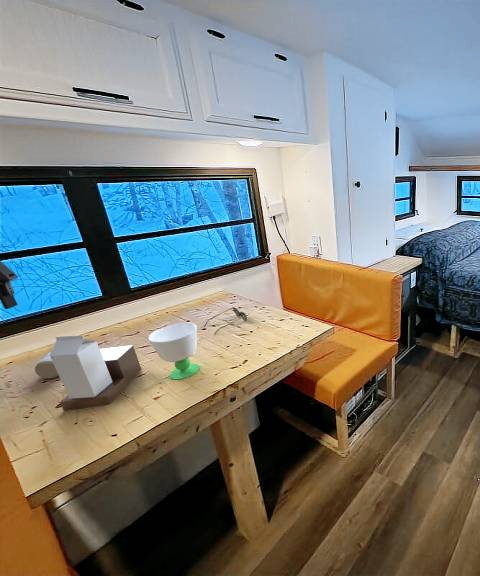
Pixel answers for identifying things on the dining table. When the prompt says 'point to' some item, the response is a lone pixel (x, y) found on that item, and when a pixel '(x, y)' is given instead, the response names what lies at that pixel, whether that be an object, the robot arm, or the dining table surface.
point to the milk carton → (80, 366)
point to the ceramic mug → (46, 368)
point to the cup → (177, 347)
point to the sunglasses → (236, 315)
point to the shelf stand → (122, 372)
